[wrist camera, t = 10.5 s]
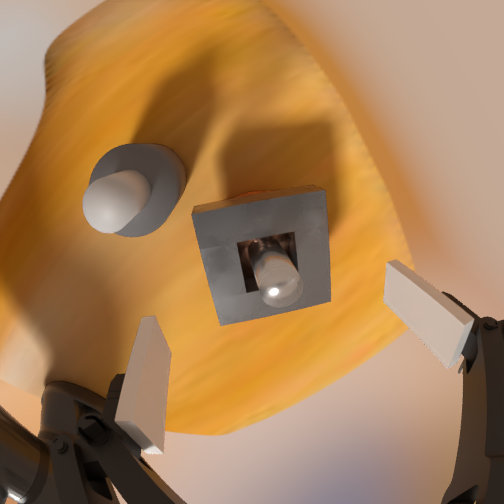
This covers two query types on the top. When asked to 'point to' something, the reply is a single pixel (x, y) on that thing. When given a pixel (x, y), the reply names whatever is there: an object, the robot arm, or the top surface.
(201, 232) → the hollow square frame
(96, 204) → the stand
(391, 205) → the top surface
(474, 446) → the robot arm
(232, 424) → the top surface
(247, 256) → the hub
